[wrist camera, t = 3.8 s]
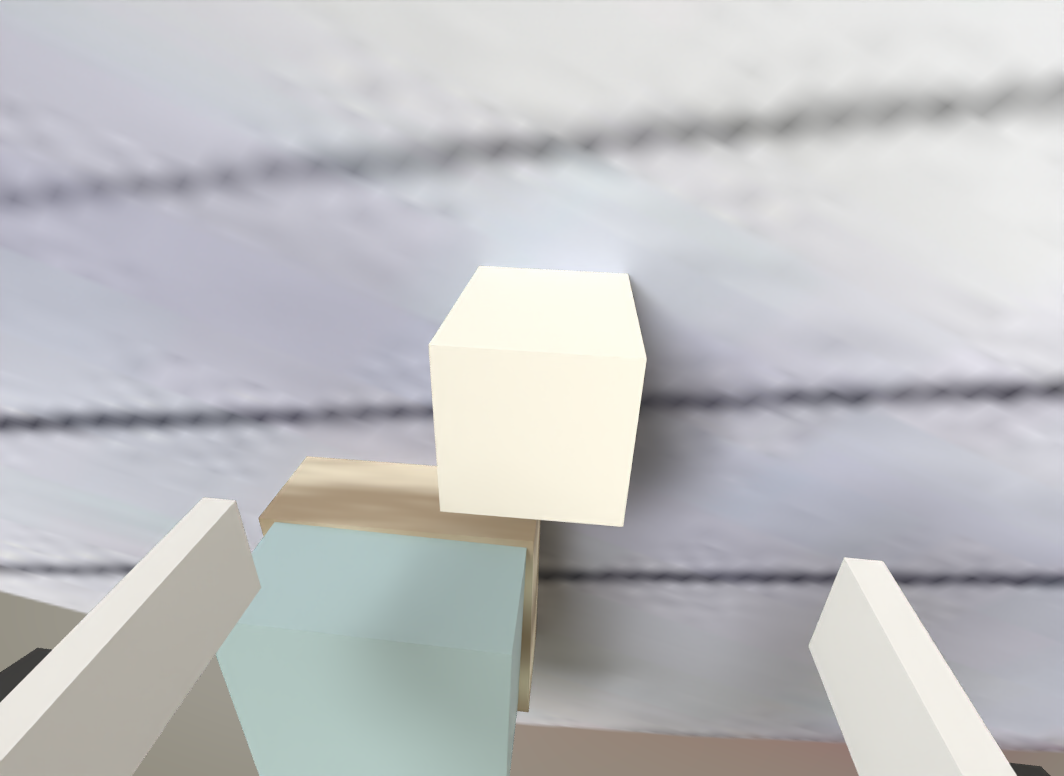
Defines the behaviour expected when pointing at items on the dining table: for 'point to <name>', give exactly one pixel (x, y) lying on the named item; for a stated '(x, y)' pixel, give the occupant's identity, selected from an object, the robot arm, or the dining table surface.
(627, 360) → the cream block
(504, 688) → the tower top slab
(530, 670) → the tower base slab
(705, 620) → the dining table surface
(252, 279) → the dining table surface
